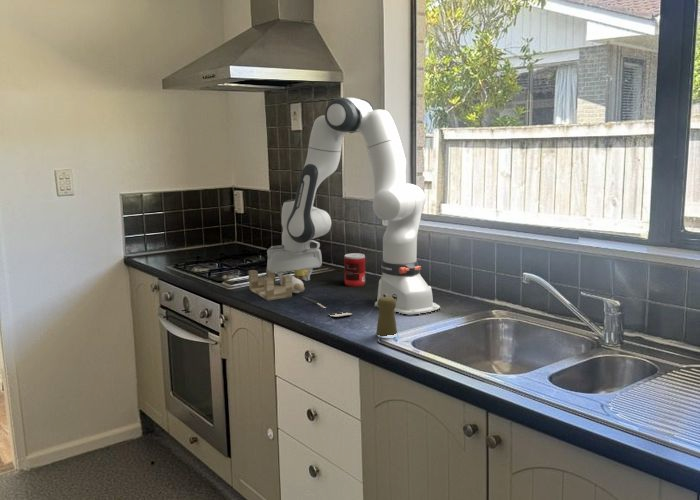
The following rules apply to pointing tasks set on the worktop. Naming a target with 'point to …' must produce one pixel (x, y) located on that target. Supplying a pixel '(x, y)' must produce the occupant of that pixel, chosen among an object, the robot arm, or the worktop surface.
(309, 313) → the worktop surface
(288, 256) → the robot arm
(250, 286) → the holder
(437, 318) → the worktop surface
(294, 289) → the roll
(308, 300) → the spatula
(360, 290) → the worktop surface
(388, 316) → the olive green tall figure
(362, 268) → the canned food
